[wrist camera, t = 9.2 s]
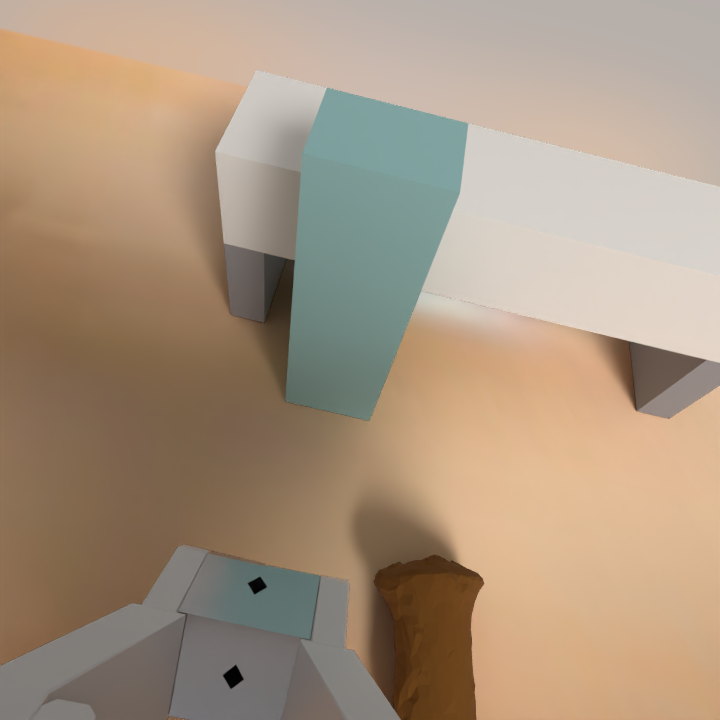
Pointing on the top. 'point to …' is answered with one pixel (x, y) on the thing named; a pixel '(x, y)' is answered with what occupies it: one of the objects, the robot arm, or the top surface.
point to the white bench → (510, 239)
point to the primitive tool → (432, 637)
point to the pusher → (365, 243)
